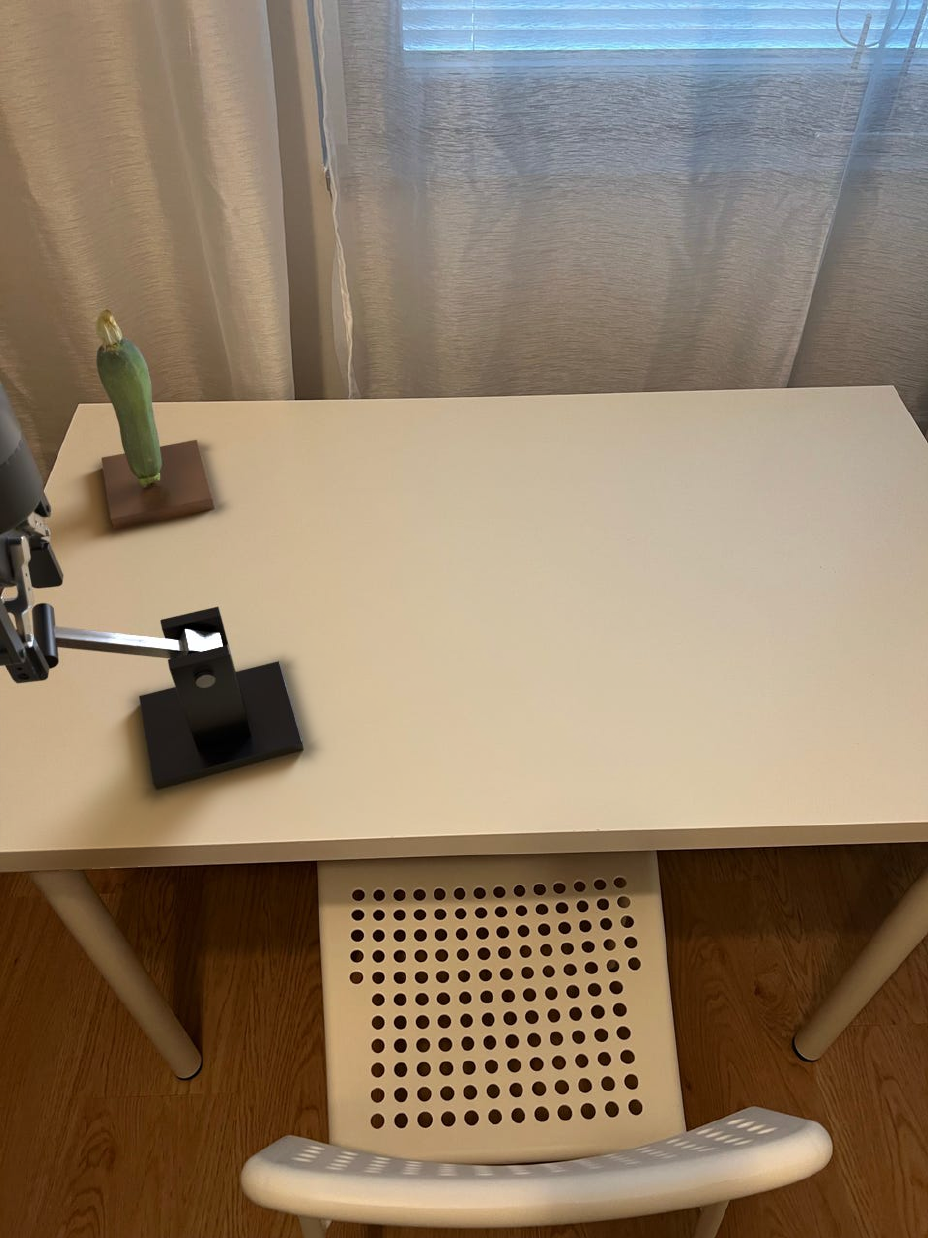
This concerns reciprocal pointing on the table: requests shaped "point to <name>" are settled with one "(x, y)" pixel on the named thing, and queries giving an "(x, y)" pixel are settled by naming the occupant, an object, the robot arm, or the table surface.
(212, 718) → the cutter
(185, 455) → the board
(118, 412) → the vegetable
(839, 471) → the table surface
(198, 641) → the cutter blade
